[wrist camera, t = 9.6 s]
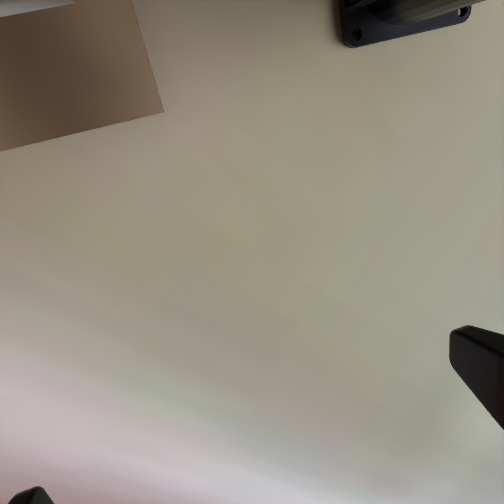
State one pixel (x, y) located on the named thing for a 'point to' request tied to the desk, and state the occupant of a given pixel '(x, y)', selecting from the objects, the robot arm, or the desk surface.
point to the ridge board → (70, 69)
